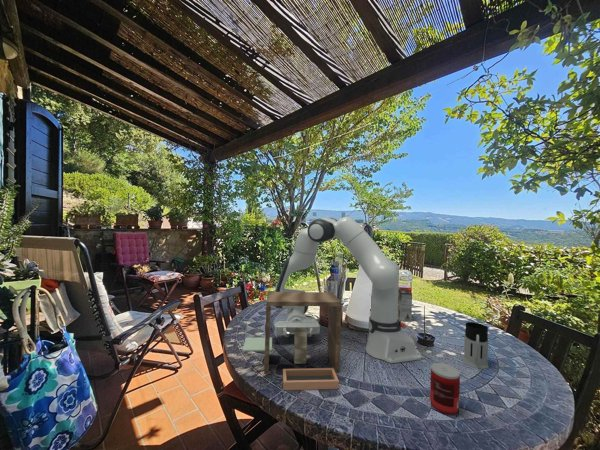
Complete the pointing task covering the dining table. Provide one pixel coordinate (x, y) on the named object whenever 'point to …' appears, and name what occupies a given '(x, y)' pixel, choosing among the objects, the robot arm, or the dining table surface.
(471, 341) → the glass holder
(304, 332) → the ash block
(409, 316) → the coffee box
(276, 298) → the walnut tunnel
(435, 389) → the canned food
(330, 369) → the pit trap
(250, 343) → the sage pad
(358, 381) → the dining table surface
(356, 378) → the dining table surface
